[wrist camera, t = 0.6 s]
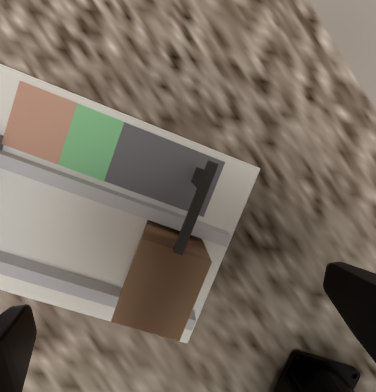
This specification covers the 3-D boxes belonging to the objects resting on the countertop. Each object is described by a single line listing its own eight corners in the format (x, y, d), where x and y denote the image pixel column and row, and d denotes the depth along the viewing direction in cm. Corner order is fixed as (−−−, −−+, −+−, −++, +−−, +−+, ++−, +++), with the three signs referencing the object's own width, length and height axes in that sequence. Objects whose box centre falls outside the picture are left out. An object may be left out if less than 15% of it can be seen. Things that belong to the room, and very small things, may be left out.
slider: (228, 171, 17) (250, 176, 13) (176, 301, 18) (179, 348, 14) (173, 150, 17) (175, 147, 12) (123, 285, 18) (108, 327, 13)
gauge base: (253, 167, 19) (283, 171, 14) (185, 330, 20) (191, 385, 16) (-10, 62, 16) (-86, 21, 11) (-64, 256, 18) (-150, 294, 13)
